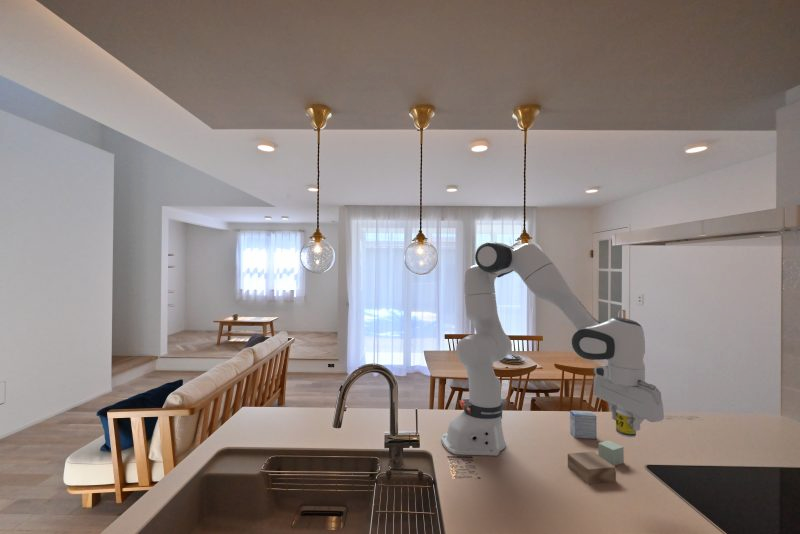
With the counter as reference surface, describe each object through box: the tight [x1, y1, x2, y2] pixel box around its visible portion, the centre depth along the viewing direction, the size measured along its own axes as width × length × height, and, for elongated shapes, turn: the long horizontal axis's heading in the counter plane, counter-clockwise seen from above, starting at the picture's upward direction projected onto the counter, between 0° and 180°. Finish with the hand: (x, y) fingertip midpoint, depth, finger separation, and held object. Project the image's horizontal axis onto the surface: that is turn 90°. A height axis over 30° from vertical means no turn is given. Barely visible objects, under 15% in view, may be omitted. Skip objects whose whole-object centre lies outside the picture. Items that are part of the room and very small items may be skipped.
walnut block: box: [567, 451, 617, 485], centre depth 102 cm, size 9×9×4 cm
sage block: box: [597, 439, 625, 467], centre depth 110 cm, size 5×5×5 cm
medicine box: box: [569, 410, 598, 440], centre depth 127 cm, size 8×4×9 cm, turn 84°
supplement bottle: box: [615, 404, 637, 438], centre depth 96 cm, size 5×5×8 cm
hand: (625, 424), depth 96 cm, fingers closed on supplement bottle, 5 cm apart
